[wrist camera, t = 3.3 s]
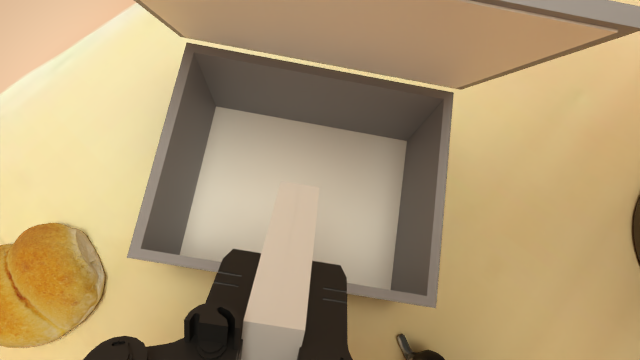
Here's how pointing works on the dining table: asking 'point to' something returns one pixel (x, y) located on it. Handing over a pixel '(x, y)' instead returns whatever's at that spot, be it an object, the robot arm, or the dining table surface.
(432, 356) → the black elongated piece
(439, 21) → the box lid
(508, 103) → the dining table surface
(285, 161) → the box
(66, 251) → the bread roll
